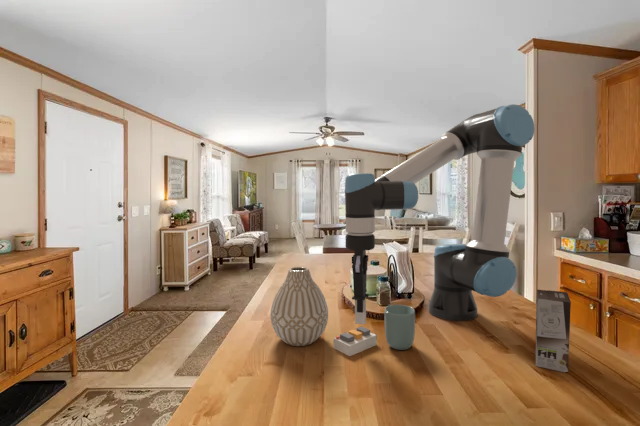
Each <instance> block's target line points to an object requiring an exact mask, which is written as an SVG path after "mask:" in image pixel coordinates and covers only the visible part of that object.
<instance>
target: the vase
mask: <svg viewBox="0 0 640 426" xmlns="http://www.w3.org/2000/svg"><path fill="white" fill-rule="evenodd" d="M314 280H315V279H313V276H312V275H311V272H310V269H309V268H308V267H307V266H292V267H290V268H288V271H287V274H286V277H285V279H284V281H283V283H282V284H281V286H280V287H279V288H278V290H277V292H276V293H275V295H274V297H273V301H272V303H271V308H270V314H269V315H270V322H271V326H272V329H273V331H274V333H275V334H276V336H277V337H278V338H279V339H280V340H281V341H283V342H284V343H285V344H287V345H289V346H294V347H305V346H309V345H311V344H314V343H315V342H316V341H317V340H318V339H319V338H320V337H321V336H322V335H323V333H324V332H325V330H326V328H327V326H328V321H329V307H328V303H327V300H326V298H325V296H324V293H323V292H322V290H321V289H320V287H319V285H318V284H317V283H316V282H315V281H314Z"/></svg>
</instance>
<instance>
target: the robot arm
mask: <svg viewBox="0 0 640 426" xmlns="http://www.w3.org/2000/svg"><path fill="white" fill-rule="evenodd" d="M534 135H535V121H534V118H533V117H532V115H531V114H530V112H529V111H528V110H527V108H525V107H524V106H522V105H519V104H508V105H501V106H499V107H496V108H494V109H490V110H486V111H483V112H480V113H476V114H473V115H471V116H469V117H468V118H466V119H464V120H462V121H461V122H460V123H458V124H456V125H455V126H454V127H452V128H450V129H449V130H447V131H446V132H444V133H443V134H442V135H441V136H440V139H438V141H435V142H434V143H433V144H430V145H429V146H427V147H425V148H424V149H422V150H421V151H419V152H417V153H416V154H415V155H413V156H411V157H410V158H408V159H407V160H404V161H403V162H402V163H400V164H398V165H397V166H395V167H393V168H392V169H390V170H389V171H387V172H385V173H383V174H382V175H380V176H379V177H377V178H376V177H375V175H374V174H373V173H360V172H359V173H349V174H347V175H346V177H345V183H344V203H345V204H344V205H345V209H344V210H345V213H344V214H345V220H343V225H345V232H346V233H347V234H346V235H345V248H346V249H347V250H350V251H352V250H353V251H354V254H353V255H352V256H351V264H352V266H351V269H352V283H353V284H352V285H353V296H352V298H351V299H352V300H354V324H359V325H366V324H367V298H369V293H367V292H368V290H367V281H368V280H367V279H368V277H367V275H368V274H367V273H368V262H369V255H368V254H367V253H366V252H367V251H371V250H374V249H375V247H376V245H375V244H376V241H375V240H376V239H375V237H376V236H375V234H374V233H375V231H376V215H375V213H376V212H375V211H380V210H381V211H382V210H384V211H386V210H387V211H388V210H389V211H390V210H392V211H393V210H396V211H397V210H402V211H404V210H411V209H413V208H415V207H416V206H417V203H418V202H419V189H418V187H417V184H416V183H418V182H420V181H422V180H423V179H424V178H426V177H428V176H429V175H431V174H432V173H434V172H436V171H437V170H439V169H440V168H442V167H443V166H445V165H447V164H449V163H450V162H452V161H453V160H456V161H457V160H460V159H463V158H464V157H465V156H466V157H467V156H469V155H471V154H476V155H477V157H478V158H480V169H479V175H478V176H479V178H478V187H477V193H476V194H477V195H476V203H475V212H474V218H473V227H472V236H471V239H470V241H469V242H467V243H451V244H449V243H447V244H438V245H436V246H435V248H434V255H433V258H434V260H433V261H434V262H433V263H434V267H433V268H434V272H433V273H434V274H433V276H434V277H433V278H434V279H433V282H434V288H433V291H432V295H431V297H430V300H429V302H428V312H429V313H430V314H431V315H433V316H434V317H436V318H440V319H443V320H448V321H457V322H460V321H462V322H463V321H472V320H475V319H476V318H477V317H478V307H477V304H476V300H475V296H474V295H473V292H476V293H477V294H479V295H481V296H487V297H490V298H494V297H495V298H496V297H497V298H499V297H501V296H504V295H505V294H506V293H507V292H508V291H511V289H512V287H514V284H515V282H516V279H517V275H518V272H517V266H515V262H513V260H511V258H509V257H510V249H509V248H508V247H507V246H506V244H505V242H506V241H505V240H506V233H507V223H508V216H509V208H510V207H509V206H510V198H511V192H512V183H513V174H514V166H515V161H516V160H518V158H520V157H521V156H522V152H523V146H526V145H527V144H529V142H530V141H532V139H533V137H534Z"/></svg>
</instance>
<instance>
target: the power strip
mask: <svg viewBox="0 0 640 426" xmlns="http://www.w3.org/2000/svg"><path fill="white" fill-rule="evenodd" d="M377 336H378V335H377V334H375V333H373V332H371V329H370V328H369V329H368V328H367V327H364V326H360V327H356V328H355V329H350V330H348V331H347V332H343V333H340V334H339V335H336V336H335V337H333V349H335V350H336V351H338V352H340V353H342V354H343V355H346V356H348V357H352V356H354V355H356V354H358V353H361V352H363V351H365V350H368V349H370V348H373V347H375V346H377V345H378V341H377V338H378V337H377Z"/></svg>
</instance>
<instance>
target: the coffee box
mask: <svg viewBox="0 0 640 426" xmlns="http://www.w3.org/2000/svg"><path fill="white" fill-rule="evenodd" d="M571 305H572V302H571V299H570V296H569V294H568V292H567V291H559V290H558V291H557V290H546V289H536V307H535V309H536V311H535V366H536V367H539V368H544V369H548V370H553V371H557V372H562V373H565V372H568V373H569V359H570V358H569V357H570V356H569V354H570V333H571V331H570V329H571V308H572V307H571Z"/></svg>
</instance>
